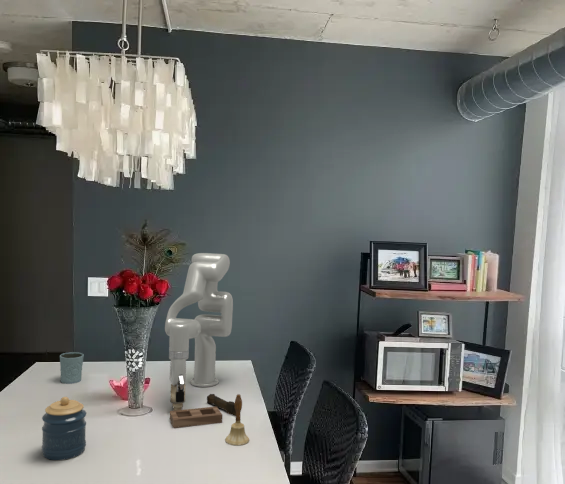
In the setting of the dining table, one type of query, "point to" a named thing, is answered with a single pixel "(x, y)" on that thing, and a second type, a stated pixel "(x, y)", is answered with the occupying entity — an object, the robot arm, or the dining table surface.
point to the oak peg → (173, 398)
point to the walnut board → (195, 417)
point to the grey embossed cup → (71, 367)
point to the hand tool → (222, 404)
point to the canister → (63, 430)
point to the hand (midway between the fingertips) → (177, 397)
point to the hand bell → (237, 427)
